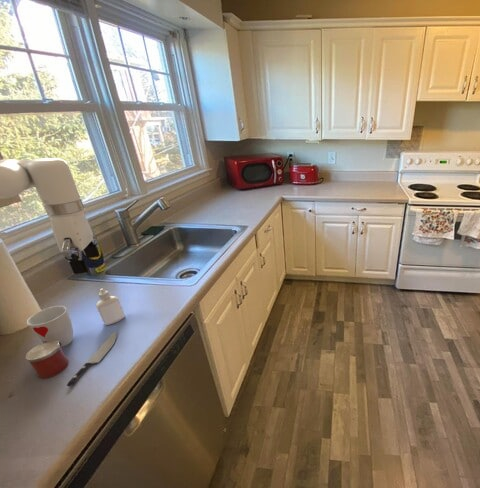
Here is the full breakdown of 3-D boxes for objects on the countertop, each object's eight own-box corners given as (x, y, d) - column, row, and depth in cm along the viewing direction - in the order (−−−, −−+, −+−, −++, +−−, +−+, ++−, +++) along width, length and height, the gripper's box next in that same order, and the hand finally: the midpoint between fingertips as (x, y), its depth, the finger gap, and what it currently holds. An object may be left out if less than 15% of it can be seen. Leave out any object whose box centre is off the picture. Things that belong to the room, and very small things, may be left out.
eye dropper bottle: (123, 322, 89) (110, 290, 84) (102, 326, 87) (87, 295, 82) (126, 313, 93) (114, 283, 87) (106, 318, 91) (92, 287, 85)
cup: (36, 348, 79) (19, 321, 75) (68, 329, 86) (54, 303, 82) (55, 356, 77) (38, 328, 72) (86, 335, 84) (73, 309, 79)
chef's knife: (125, 331, 85) (115, 331, 85) (124, 328, 85) (114, 328, 84) (79, 387, 68) (66, 387, 68) (77, 384, 67) (64, 384, 67)
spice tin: (32, 381, 69) (20, 363, 67) (44, 363, 75) (33, 344, 72) (63, 373, 72) (52, 355, 69) (73, 356, 77) (63, 338, 74)
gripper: (61, 200, 79) (83, 253, 87) (29, 220, 65) (58, 282, 72) (93, 197, 82) (111, 250, 89) (69, 216, 67) (93, 276, 75)
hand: (88, 264), depth 81 cm, fingers open, 9 cm apart
